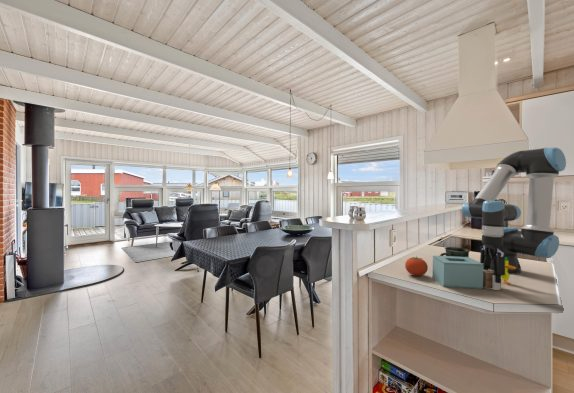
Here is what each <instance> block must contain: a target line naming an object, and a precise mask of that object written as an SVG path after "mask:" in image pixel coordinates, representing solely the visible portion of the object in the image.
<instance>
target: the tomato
mask: <svg viewBox="0 0 574 393" xmlns="http://www.w3.org/2000/svg"><path fill="white" fill-rule="evenodd" d="M404 264H405V265H404V267H405V269H406V271H407V273H408V274H411V275H412V276H416V277H420V276H424V275H425V274H427V272H428V270H429V269H428V266H429V265H428V264H427V262H426V261H425V260H424V259H423V258H422V257H419V256H418V257H417V255H416V256H412V257H410V258H409V257H408V258H407V259H406V261H405V263H404Z"/></svg>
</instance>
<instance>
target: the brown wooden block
mask: <svg viewBox="0 0 574 393" xmlns="http://www.w3.org/2000/svg"><path fill="white" fill-rule="evenodd" d="M492 274H494V270H491V271H483V288H484V289H491V288H492V278H493V275H492ZM501 285H502V282H501V283H500V290H501V289H502V287H501Z"/></svg>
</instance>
